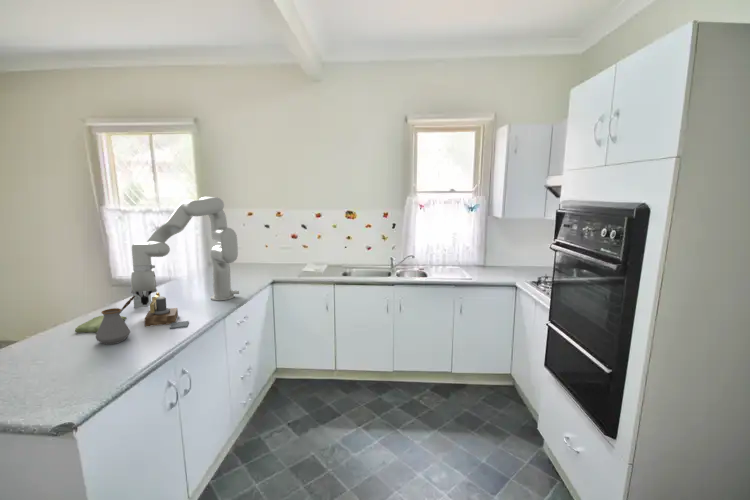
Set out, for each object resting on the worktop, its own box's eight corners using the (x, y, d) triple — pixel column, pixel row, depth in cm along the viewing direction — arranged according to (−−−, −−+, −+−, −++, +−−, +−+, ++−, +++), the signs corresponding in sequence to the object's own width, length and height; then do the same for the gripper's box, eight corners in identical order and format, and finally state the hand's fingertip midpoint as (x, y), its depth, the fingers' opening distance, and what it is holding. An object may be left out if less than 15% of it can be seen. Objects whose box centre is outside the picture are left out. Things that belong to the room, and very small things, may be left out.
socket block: (178, 314, 177) (177, 303, 176) (175, 323, 164) (174, 312, 163) (150, 316, 172) (149, 306, 171) (145, 326, 159) (144, 315, 159)
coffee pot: (118, 346, 138) (115, 310, 136) (88, 346, 138) (85, 309, 135) (150, 327, 159) (148, 295, 157) (124, 326, 159) (122, 294, 156)
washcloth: (128, 319, 169) (127, 313, 168) (105, 333, 151) (104, 326, 151) (98, 320, 167) (98, 313, 166) (71, 334, 150) (71, 327, 149)
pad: (188, 322, 167) (188, 320, 166) (187, 327, 160) (187, 325, 160) (171, 323, 164) (171, 322, 164) (169, 328, 157) (169, 327, 157)
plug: (171, 317, 172) (169, 294, 170) (169, 322, 166) (168, 298, 164) (155, 319, 169) (153, 296, 167) (152, 324, 163) (151, 300, 161)
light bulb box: (137, 302, 194) (136, 283, 192) (151, 301, 197) (150, 282, 195) (133, 308, 184) (132, 288, 183) (148, 306, 187) (147, 287, 186)
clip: (161, 301, 179) (161, 292, 178) (156, 312, 162) (155, 302, 161) (155, 301, 178) (154, 292, 177) (148, 313, 161) (147, 303, 160)
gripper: (161, 265, 177) (163, 300, 180) (126, 267, 171) (128, 303, 174) (159, 268, 171) (161, 304, 173) (122, 270, 165) (125, 307, 167)
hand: (145, 304), depth 174 cm, fingers closed
